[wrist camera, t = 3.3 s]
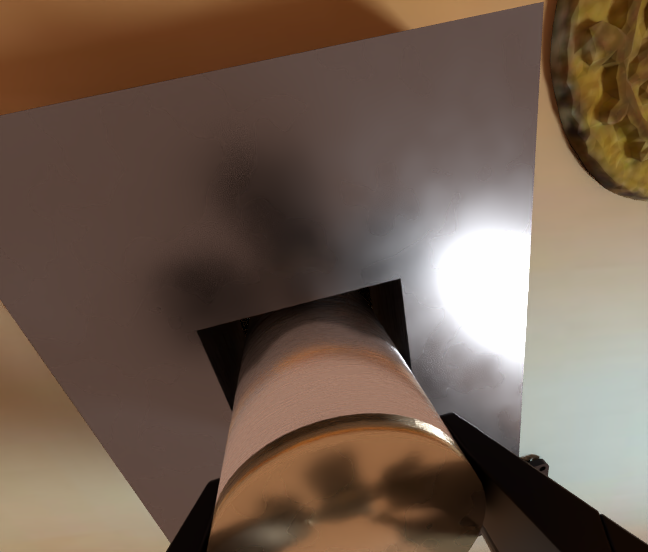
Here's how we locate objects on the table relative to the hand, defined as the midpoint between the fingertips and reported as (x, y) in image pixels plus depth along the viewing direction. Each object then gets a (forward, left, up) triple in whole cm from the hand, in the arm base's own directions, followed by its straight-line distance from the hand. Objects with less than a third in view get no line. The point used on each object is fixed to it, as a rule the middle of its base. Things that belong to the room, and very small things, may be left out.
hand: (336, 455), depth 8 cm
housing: (0, 0, -8) cm, 8 cm away
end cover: (0, 0, -6) cm, 6 cm away
